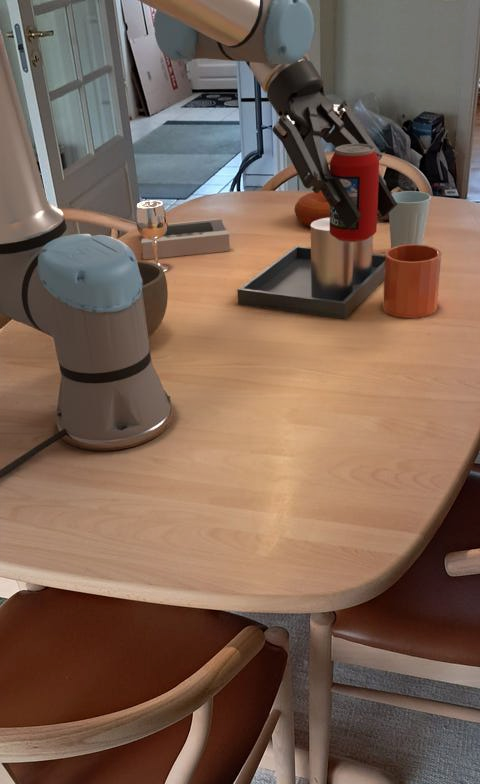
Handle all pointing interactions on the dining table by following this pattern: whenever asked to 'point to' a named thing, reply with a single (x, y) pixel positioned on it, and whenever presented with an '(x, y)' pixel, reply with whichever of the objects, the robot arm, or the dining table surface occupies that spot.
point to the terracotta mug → (411, 280)
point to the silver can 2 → (362, 260)
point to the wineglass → (152, 223)
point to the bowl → (153, 294)
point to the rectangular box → (189, 239)
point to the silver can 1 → (330, 263)
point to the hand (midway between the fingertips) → (372, 216)
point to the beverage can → (356, 189)
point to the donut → (312, 208)
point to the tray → (303, 287)
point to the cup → (409, 218)
